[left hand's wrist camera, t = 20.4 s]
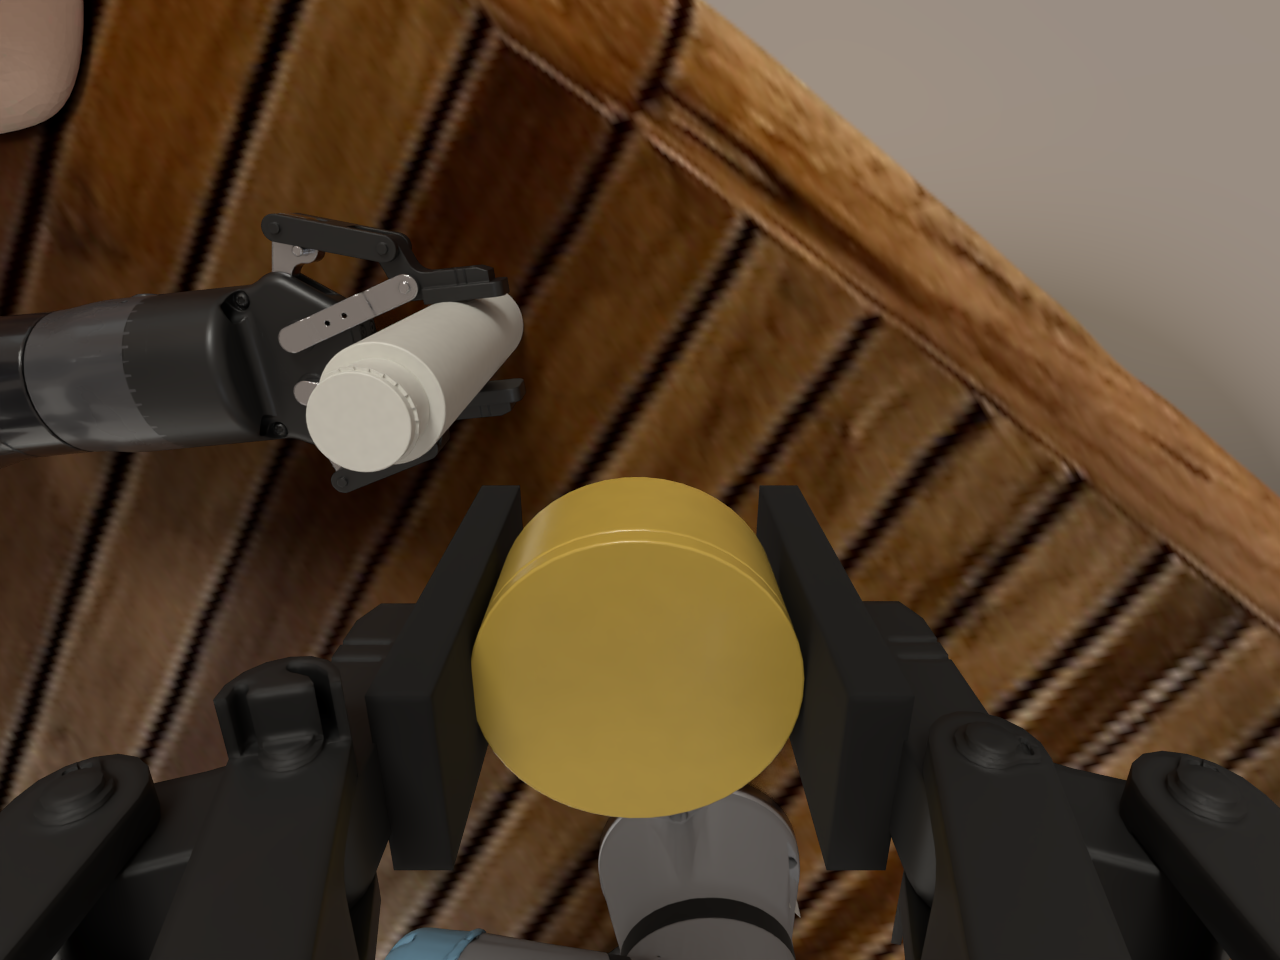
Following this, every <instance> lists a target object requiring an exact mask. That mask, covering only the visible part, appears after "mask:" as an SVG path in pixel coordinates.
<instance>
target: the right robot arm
mask: <svg viewBox="0 0 1280 960" xmlns="http://www.w3.org/2000/svg"><path fill="white" fill-rule="evenodd" d="M261 228H262V231H263V234H264V235H265V236H266V237H267V238H268V239H269V240H271V241H272V272H271V273H268V274H266V275H264V276H263V277H262V278H261V279H260V280H258V281H257V282H255V283H254V284H252V285H244V286H234V287H225V288H216V289H206V290H197V291H188V292H178V293H169V294H159V295H157V294H138V295H135V296H132V297H130V298H121V299H111V300H104V301H99V302H95V303H90V304H86V305H82V306H79V307H75V308H71V309H66V310H60V311H50V312H41V313H31V314H22V315H13V316H1V317H0V469H1V468H4V467H7V466H9V465H12V464H15V463H17V462H20V461H22V460H25V459H29V458H36V457H46V456H53V455H63V454H74V453H84V452H94V451H119V452H148V451H159V450H170V449H181V448H191V447H201V446H211V445H222V444H233V443H243V442H253V441H264V440H274V439H282V438H295V439H299V440H302V441H305V442H308V443H310V444H314V445H315V443H314V442H313V440H312V438H311V436H310V433H309V430H308V427H307V422H306V408H307V403H308V400H309V397H310V395H311V393H312V392H313V390H314V389H315V388H316V386H317V385H318V384H319V382H320V378H321V375H322V373H323V371H324V369H325V367H326V365H327V364H328V363H329V361H330V360H331V359H332V358H333V357H334V356H335V355H336V354H337V353H339V352H340V351H342V350H343V349H345V348H347V347H349V346H351V345H353V344H355V343H357V342H359V341H361V340H363V339H365V338H367V337H369V336H371V335H373V334H375V333H377V332H376V328H375V323H374V319H373V318H375V317H377V316H379V315H381V314H383V313H385V312H388V311H390V310H392V309H394V308H396V307H398V306H400V305H403V304H405V303H407V302H409V301H416V300H424V304H434V303H442V302H453V301H463V300H472V299H482V298H492V297H499V296H504V295H506V294H507V293H509V292H510V291H509V285H508V279H507V277H499V278H495V274H494V269H493V268H492V267H489V266H485V265H474V266H464V267H455V268H445V269H436V270H431V269H427V268H425V267H423V266H422V265H421V264H420V263H419V262H418V261H417V259H416V257H415V256H414V254H413V252H412V245H411V241H410V240H409V238H408V237H407V236H406V235H404V234H402V233H399V232H394V231H388V230H383V229H378V228H373V227H368V226H363V225H358V224H352V223H347V222H342V221H337V220H332V219H327V218H322V217H316V216H311V215H306V214H301V213H278V214H268V215H266V216H265V217H264V218H263V220H262V223H261ZM325 252H329V253H335V254H340V255H345V256H350V257H356V258H361V259H366V260H371V261H377V262H379V263H380V265H381V266H382V268H383V270H384V271H385V273H386V275H387V277H388V278H389V280H387V281H385V282H383V283H381V284H378V285H376V286H374V287H372V288H370V289H368V290H365V291H363V292H361V293H358V294H356V295H354V296H352V297H349V298H345V297H344V296H342V295H340V294H338V293H336V292H334V291H333V290H331V289H329V288H327V287H325V286H324V285H322V284H320V283H318V282H316V281H314V280H313V279H311V278H309V277H307V276H305V275H303V274H302V273H300V271H301V268H302V266H303V265H304V264H305V263H312V262H317V261H320V260H321V259H322V258H323V257H324V255H325ZM525 393H526V392H525V385H524V379H520V378H517V379H506V380H496V381H488V382H487V383H486V384H485V385H484V387H483V388H482V389H481V390H480V391H479V392H478V394H477V395H476V396H475V397H474V398H473V400H472V401H471V402H470V403H469V404H468V405H467V407H466V408H465V409H464V410H463V411H462V413H461V414H460V415H459V416H458V417H457V418H456V420H459V419H469V418H480V417H489V416H500V415H504V414H505V413H507V412H509V411H511V410H512V408H513V407H514V405H515V404H516V402H517V401H520V400H522V398H523V396H524V395H525ZM449 438H450V432H449V428H448V429H447V430H446V431H445V433H444V434H443V435H442V436H441V437H440V439H439V440H438V441H437V442H436V443H435V444H434V446H433V447H432V448H431V449H430V450H429V451H428V452H426V453H425V454H424V455H422V456H421V457H419V458H417V459H415V460H413V461H409V462H406V463H401V464H393V465H392V466H390V467H388V468H386V469H383V470H380V471H374V472H358V471H353V470H349V469H346V468H344V467H341V466H339V465H337V464H336V463H334V462H332V461H331V460H330V459H329V460H330V462H331V463H332V465H333V467H334V468H335V470H336V472H335V473H334V474H333V475H332V477H331V483H332V485H333V487H334V488H335V489H336V490H337V491H339V492H343V493H347V492H350V491H353V490H355V489H358V488H360V487H363V486H365V485H368V484H370V483H373V482H375V481H378V480H380V479H383V478H385V477H388V476H390V475H393V474H395V473H398V472H400V471H403V470H405V469H408V468H410V467H413V466H415V465H418V464H420V463H423V462H425V461H428V460H430V459H433V458H434V457H435V456H436V455H437V454H438V453H439V451H440V450H441V449H442V448H443V446H444V445H445V444H446V443H447V441H448V440H449Z"/></svg>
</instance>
